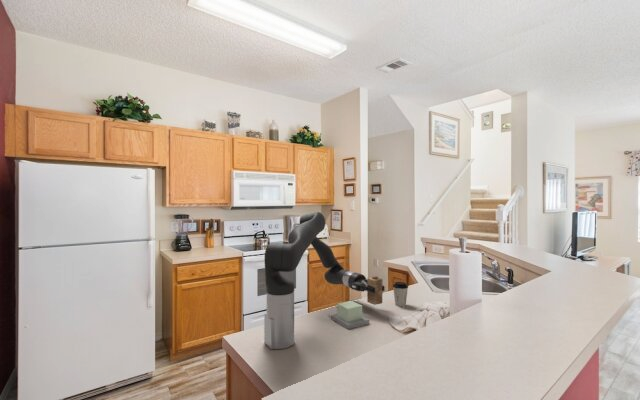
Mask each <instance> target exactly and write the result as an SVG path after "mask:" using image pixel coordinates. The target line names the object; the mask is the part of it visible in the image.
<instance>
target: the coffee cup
mask: <svg viewBox="0 0 640 400" xmlns="http://www.w3.org/2000/svg"><path fill="white" fill-rule="evenodd" d="M408 288H409V285H408V284H407V283H406V282H403V281H394V283H393V284H392V289H393V295H394V296H393V297H394V304H395V306H396V307H399V308H400V307H401V308H402V307H406V305H407V297H408V290H409V289H408Z"/></svg>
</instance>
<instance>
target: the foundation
mask: <svg viewBox="0 0 640 400" xmlns="http://www.w3.org/2000/svg"><path fill="white" fill-rule="evenodd" d="M336 306H337V308H336V309H337V310H336V311H337V312H336V313H333V314H330V319H331V320H332V321H334V322H335V323H338V324H339V325H341V326H343V327H344V328H346V329H347V330H351V329H355V328H358V327H362V326H366V325H369V324H370V319H369V318H367V317H365V316H363V305H361V304H359V303H357V302H355V301H353V300H348V301H344V302H339V303H336Z"/></svg>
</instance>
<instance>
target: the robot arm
mask: <svg viewBox="0 0 640 400" xmlns="http://www.w3.org/2000/svg"><path fill="white" fill-rule="evenodd" d="M325 228H326V218H325V216H324V215H323V213H322V212H320V211H314V212H311V213H307V214H303V215H302V216H300V218H299V224H297V225H296V226H294V228H292V229H291V230H290V232H289V234H288V236H287V241H288V243H273V242H272V243H271V242H270V243H269V244H268V245H267V246H266V248H265V251H264V274H265V275H264V276H265V281H264V282H265V286H266V287H265V288H266V313H264V315H263V316H264V317H263V319H264V321H263V322H264V324H263V325H264V327H263V328H264V329H263V330H264V333H263V334H264V336H263V337H264V338H263V339H264V340H263V341H264V344H265V345H267V347H268V348H269V349H270V350H282V349H283V350H284V349H288V348H290V347H292V346H293V345H294V344H295V283H294V282H293V281H292V280H290V279H288V278H286V277H284V276H283V275H282V274H281V273H280V272H283V273H284V272H286V273H287V272H288V273H290V272H294V271H295V270H296V269H297V268H298V265H299V264H300V262H301V259H302V258H303V256H304V254H305V252H306V251H307V249H308V248H309V247H310V246H312V248H314V250H315V252H316V254H317V255H318V258H319V260H320V263H321V265H322V266H323V267H324V268H325V269H328V270H326V271H325V273H324V279H325V281H326V282H328V284H331V285H343V286H345V287H347V288H349V289H352V290H354V291H356V292H362V293H363V292H367V291H369V292H372V293H375V287H372V286H368V285H367V284H368V278H366V276H365V275H364V274H362V273H359V272H356V271H350V270H348V269H344V267H343V266H342V265H341V263H339V261H338V260H337V259H336V257H335V255H334V253H333V251H332V249H331V247H330V246H329V245H328V244H327V243H325V242H324V241H322V240H321V239H319V237H318V235H319V234H320V233H321V232H323V231H324V230H325ZM385 289H386V288H385V286H384V284H382V292H385Z"/></svg>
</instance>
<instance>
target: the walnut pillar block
mask: <svg viewBox="0 0 640 400" xmlns="http://www.w3.org/2000/svg"><path fill="white" fill-rule="evenodd" d="M367 279H368V284H367V285H368V286H372V287H375V293H372V292H369V291H366V292H367V295H366V296H367V299H366V300H367V301H366V302H367V303H370V304H371V305H373V306H375V305H381V304H383V291H382V285H383V278H380V277H378V275H377V276H376V275H374V276H371V277H367Z"/></svg>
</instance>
